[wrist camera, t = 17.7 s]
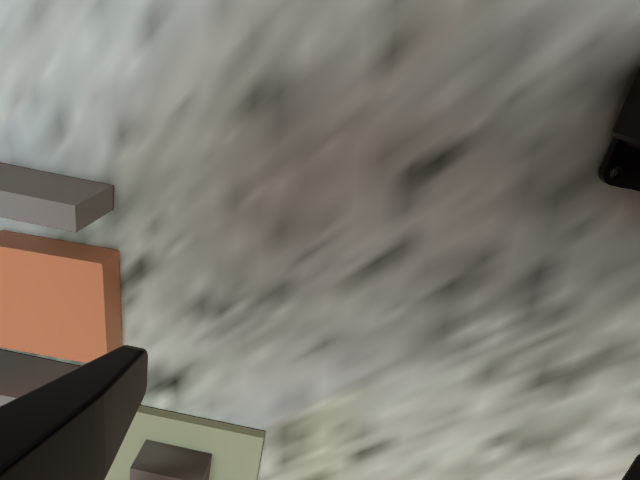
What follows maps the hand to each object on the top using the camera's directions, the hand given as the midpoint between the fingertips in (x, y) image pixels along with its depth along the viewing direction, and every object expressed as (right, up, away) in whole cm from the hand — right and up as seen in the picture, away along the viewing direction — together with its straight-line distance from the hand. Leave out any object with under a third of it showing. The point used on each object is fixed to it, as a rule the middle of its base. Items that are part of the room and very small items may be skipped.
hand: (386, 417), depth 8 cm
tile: (-15, +1, +16) cm, 22 cm away
